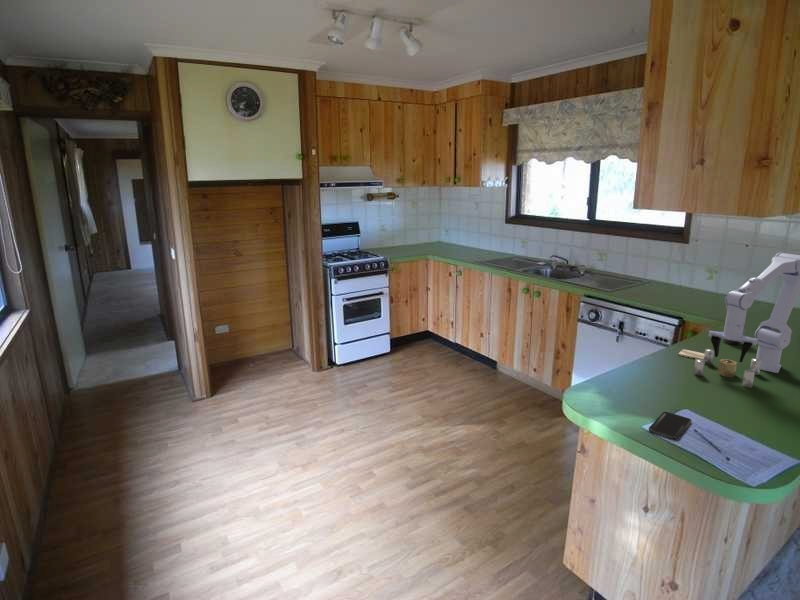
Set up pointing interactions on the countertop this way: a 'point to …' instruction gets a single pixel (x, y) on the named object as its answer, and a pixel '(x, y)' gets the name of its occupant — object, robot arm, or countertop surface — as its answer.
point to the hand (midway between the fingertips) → (728, 358)
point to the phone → (670, 425)
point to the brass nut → (727, 368)
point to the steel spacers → (748, 374)
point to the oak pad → (691, 354)
